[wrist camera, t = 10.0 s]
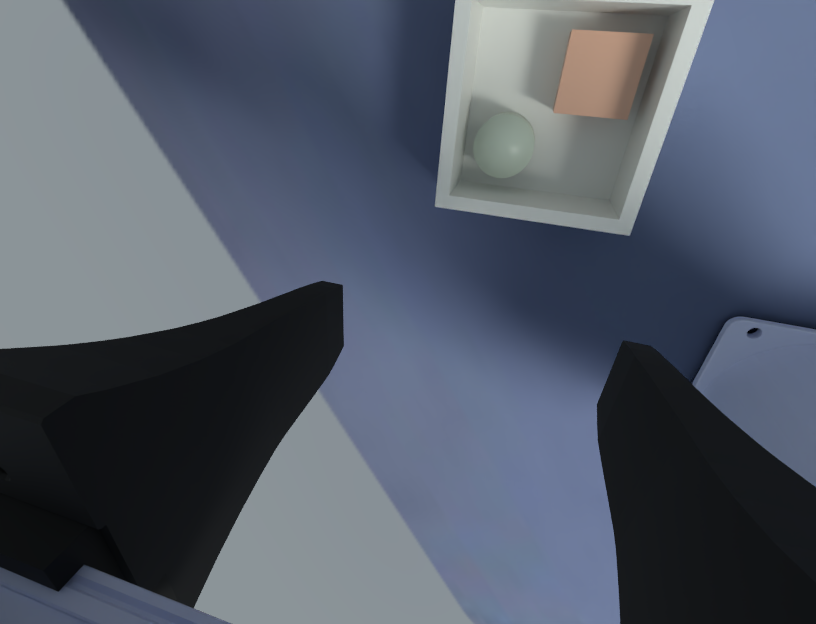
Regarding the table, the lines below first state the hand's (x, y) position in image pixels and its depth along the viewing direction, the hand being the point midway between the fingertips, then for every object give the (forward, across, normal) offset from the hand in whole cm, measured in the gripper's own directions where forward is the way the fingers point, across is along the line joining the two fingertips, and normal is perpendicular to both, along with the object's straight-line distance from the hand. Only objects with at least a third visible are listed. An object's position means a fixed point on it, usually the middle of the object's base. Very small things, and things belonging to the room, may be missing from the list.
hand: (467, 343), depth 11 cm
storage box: (+9, -1, -5) cm, 11 cm away
